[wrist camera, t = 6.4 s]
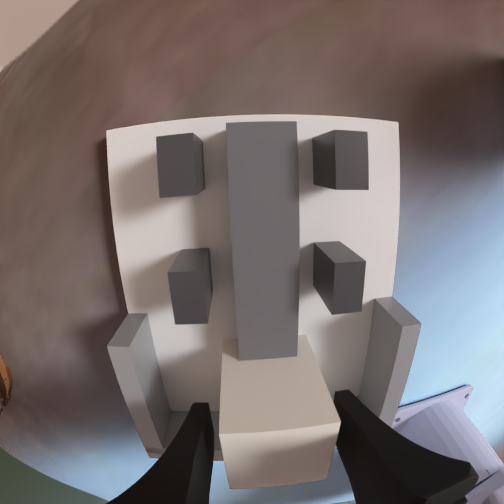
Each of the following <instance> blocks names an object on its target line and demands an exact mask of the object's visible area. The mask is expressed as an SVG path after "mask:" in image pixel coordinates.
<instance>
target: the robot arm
mask: <svg viewBox="0 0 504 504" xmlns="http://www.w3.org/2000/svg"><path fill="white" fill-rule="evenodd" d="M472 390H473V387H472V386H471V385H470V384H469V385H466V386H464V387H461V388H458V389H456V390H453V391H450V392H448V393H445V394H442V395H439V396H436V397H433V398H430V399H427V400H424V401H421V402H417V403H414V404H411V405H407V406H404V407H400V408H398V410H397V413H396V415H395V418H394V421H393V424H392V426H391V427H390V426H388V425H387V424H386V423H385V422H383V421H382V420H381V419H380V418H379V417H377V416H376V415H375V414H374V413H373V412H372V411H371V410H369V409H368V408H367V407H366V406H365V405H364V404H363V403H362V402H361V401H360V400H359V399H358V398H357V397H356V396H355V395H354V394H353V393H352V392H351V391H350V390H349V389H347V390H341V391H335V395H334V401H333V403H334V405H335V408H336V410H337V413H338V416H339V418H340V421H341V424H340V428H339V433H338V437H337V441H336V447H337V449H338V452H339V454H340V457H341V459H342V462H343V464H344V467H345V469H346V472H347V474H348V477H349V480H350V483H351V486H352V489H353V493H354V497H355V501H356V504H504V464H503V462H502V461H501V460H500V458H499V457H498V456H497V454H496V453H495V451H494V450H493V449H492V447H491V446H490V445H489V444H488V442H487V441H486V440H485V438H484V437H483V436H482V434H481V433H480V432H479V431H478V429H477V428H476V427H475V425H474V424H473V423H472V422H471V420H470V419H469V418H468V417H467V415H466V414H465V413H464V412H463V409H464V407H465V405H466V403H467V401H468V399H469V396H470V394H471V392H472ZM213 460H214V428H213V423H212V418H211V413H210V407H209V402H194V403H193V404H192V406H191V408H190V410H189V412H188V414H187V416H186V418H185V420H184V422H183V424H182V426H181V427H180V429H179V431H178V432H177V434H176V436H175V437H174V439H173V440H172V442H171V443H170V445H169V446H168V447H167V449H166V450H165V452H164V453H163V454H162V456H161V457H160V458H159V459H158V460H157V462H156V463H155V464H154V465H153V466H152V467H151V468H150V469H149V470H148V471H147V472H146V473H145V474H144V475H143V476H142V477H141V478H140V479H139V480H138V481H137V482H136V483H135V484H133V485H132V486H131V487H130V488H128V489H127V490H126V491H125V492H123V493H122V494H121V495H119V496H118V497H116V498H115V499H113V500H111V501H110V502H108V503H107V504H209V492H210V484H211V476H212V468H213Z"/></svg>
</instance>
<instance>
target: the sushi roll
mask: <svg viewBox="0 0 504 504" xmlns="http://www.w3.org/2000/svg"><path fill="white" fill-rule="evenodd" d="M9 370H10V369H9V368H8V367H7V366H6V365H5V363H4V361H3V360H2V357H1V355H0V414H1V411H2V407H1V406H3V405H4V406H6V403H8V400H10V396H9V395H10V394H11V393H10V392H11V389H12V377H11V375H10V372H9Z"/></svg>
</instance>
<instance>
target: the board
mask: <svg viewBox="0 0 504 504" xmlns="http://www.w3.org/2000/svg"><path fill="white" fill-rule="evenodd" d="M259 121H297V140H298V169H299V222H300V268H299V321H298V335H302V334H306V336H307V339H308V341H309V344H310V346H311V348H312V351H313V353H314V356H315V358H316V361H317V363H318V366H319V368H320V371H321V373H322V376H323V378H324V380H325V383H326V385H327V388H328V390H329V393H330V395H331V398H332V400H333V401H334V395H335V391H341V390H347V389H349V390H350V391H351V392H352V393H353V394H354V395H355V396H356V397H357V398H358V399H359V400H360V401H361V402H362V403H363V404H364V405H365V406H366V407H367V408H368V409H369V410H371V411H372V412H373V413H374V414H375V415H376V416H377V417H379V418H380V419H381V420H382V421H383V422H385V423H386V424H387V425H388V426H390V427H391V426H392V424H393V421H394V418H395V415H396V413H397V410H398V407H399V404H400V401H401V398H402V395H403V392H404V388H405V385H406V382H407V379H408V375H409V372H410V368H411V364H412V361H413V357H414V353H415V349H416V345H417V341H418V337H419V332H420V328H421V323H420V322H419V321H418V320H417V319H416V318H415V317H414V316H413V315H412V314H411V313H410V312H408V311H407V310H406V309H405V308H404V307H403V306H402V305H401V304H400V303H399V302H397V301H396V300H395V299H394V298H393V297H392V291H393V283H394V274H395V265H396V254H397V241H398V226H399V203H400V149H399V127H398V122H393V121H385V120H376V119H365V118H354V117H340V116H322V115H237V116H218V117H205V118H193V119H183V120H173V121H165V122H157V123H150V124H143V125H136V126H130V127H124V128H118V129H112V130H107V157H108V174H109V188H110V199H111V209H112V218H113V227H114V234H115V242H116V249H117V255H118V262H119V268H120V274H121V279H122V285H123V290H124V295H125V300H126V305H127V310H128V314H127V316H126V317H125V319H124V320H123V322H122V323H121V325H120V327H119V328H118V330H117V331H116V333H115V334H114V336H113V337H112V339H111V340H110V342H109V344H108V345H107V349H108V352H109V355H110V358H111V361H112V365H113V368H114V371H115V374H116V377H117V380H118V382H119V385H120V388H121V391H122V394H123V396H124V399H125V402H126V404H127V407H128V409H129V412H130V414H131V417H132V419H133V422H134V424H135V426H136V429H137V431H138V433H139V436H140V438H141V440H142V442H143V445H144V447H145V449H146V451H147V453H148V455H149V457H150V458H160V457H161V456H162V454H163V453H164V452H165V450H166V449H167V447H168V446H169V445H170V443H171V442H172V440H173V439H174V437H175V436H176V434H177V432H178V431H179V429H180V427H181V426H182V424H183V422H184V420H185V418H186V416H187V414H188V412H189V410H190V408H191V406H192V404H193V403H194V402H209V407H210V413H211V418H212V423H213V428H214V460H213V461H224V458H223V453H222V448H221V443H220V437H219V417H220V393H221V371H222V351H223V340H232V339H238V335H237V321H236V307H235V292H234V276H233V260H232V243H231V225H230V206H229V186H228V165H227V142H226V123H231V122H259ZM335 449H337V447H336V445H335Z"/></svg>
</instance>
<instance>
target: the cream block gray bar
mask: <svg viewBox="0 0 504 504" xmlns="http://www.w3.org/2000/svg"><path fill="white" fill-rule="evenodd" d="M226 142H227V165H228V186H229V206H230V225H231V243H232V260H233V276H234V292H235V307H236V321H237V335H238V339H232V340H223V351H222V371H221V393H220V417H219V437H220V443H221V448H222V453H223V458H224V463H225V468H226V473H227V478H228V482H229V487H230V489H247V488H263V487H275V486H284V485H293V484H300V483H307V482H313V481H319V480H325V479H327V475H328V472H329V468H330V465H331V461H332V457H333V453H334V449H335V445H336V441H337V437H338V433H339V428H340V424H341V421H340V418H339V416H338V413H337V410H336V408H335V405H334V403H333V400H332V398H331V395H330V393H329V390H328V388H327V385H326V383H325V380H324V378H323V376H322V373H321V371H320V368H319V366H318V363H317V361H316V358H315V356H314V353H313V351H312V348H311V346H310V344H309V341H308V339H307V336H306V334H302V335H298V321H299V268H300V222H299V169H298V140H297V121H259V122H231V123H226Z"/></svg>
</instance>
